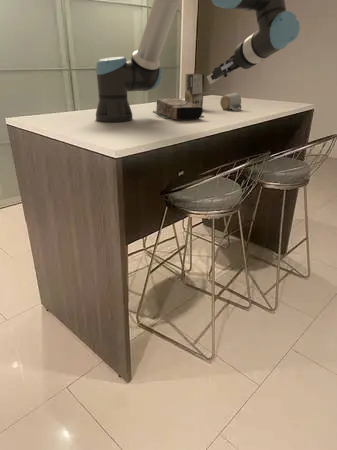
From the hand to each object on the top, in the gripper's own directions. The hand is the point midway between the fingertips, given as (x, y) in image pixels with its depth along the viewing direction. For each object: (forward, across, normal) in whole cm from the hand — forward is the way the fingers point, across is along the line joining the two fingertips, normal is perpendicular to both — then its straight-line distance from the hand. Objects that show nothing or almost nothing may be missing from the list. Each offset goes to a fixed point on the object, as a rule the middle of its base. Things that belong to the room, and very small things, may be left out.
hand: (209, 79), depth 121 cm
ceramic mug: (+39, +34, -14) cm, 54 cm away
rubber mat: (+36, +3, -4) cm, 36 cm away
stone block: (+20, -1, -7) cm, 21 cm away
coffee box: (+51, +21, -5) cm, 55 cm away
